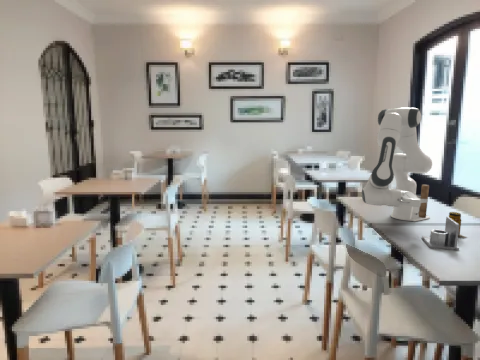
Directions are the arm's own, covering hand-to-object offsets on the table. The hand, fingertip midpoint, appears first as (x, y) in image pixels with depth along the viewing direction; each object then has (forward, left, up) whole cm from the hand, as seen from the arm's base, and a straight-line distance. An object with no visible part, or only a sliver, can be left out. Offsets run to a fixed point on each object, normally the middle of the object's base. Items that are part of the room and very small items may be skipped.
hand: (426, 199), depth 175 cm
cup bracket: (-2, +8, -20) cm, 22 cm away
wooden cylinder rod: (+1, 0, -9) cm, 9 cm away
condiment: (-21, 0, -20) cm, 29 cm away
